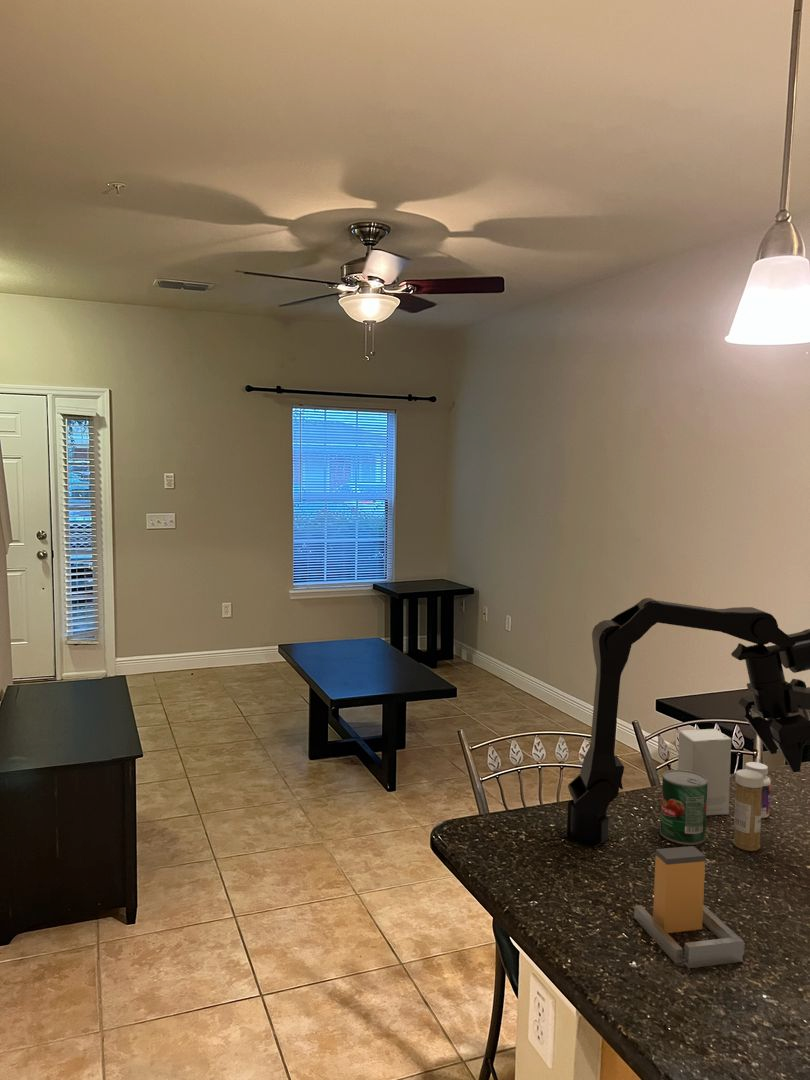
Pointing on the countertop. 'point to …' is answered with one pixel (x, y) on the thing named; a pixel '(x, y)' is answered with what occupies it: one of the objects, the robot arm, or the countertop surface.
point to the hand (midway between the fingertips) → (784, 762)
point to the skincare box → (708, 764)
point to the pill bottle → (765, 788)
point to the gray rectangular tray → (698, 952)
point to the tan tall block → (679, 888)
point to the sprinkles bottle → (748, 809)
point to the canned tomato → (684, 807)
